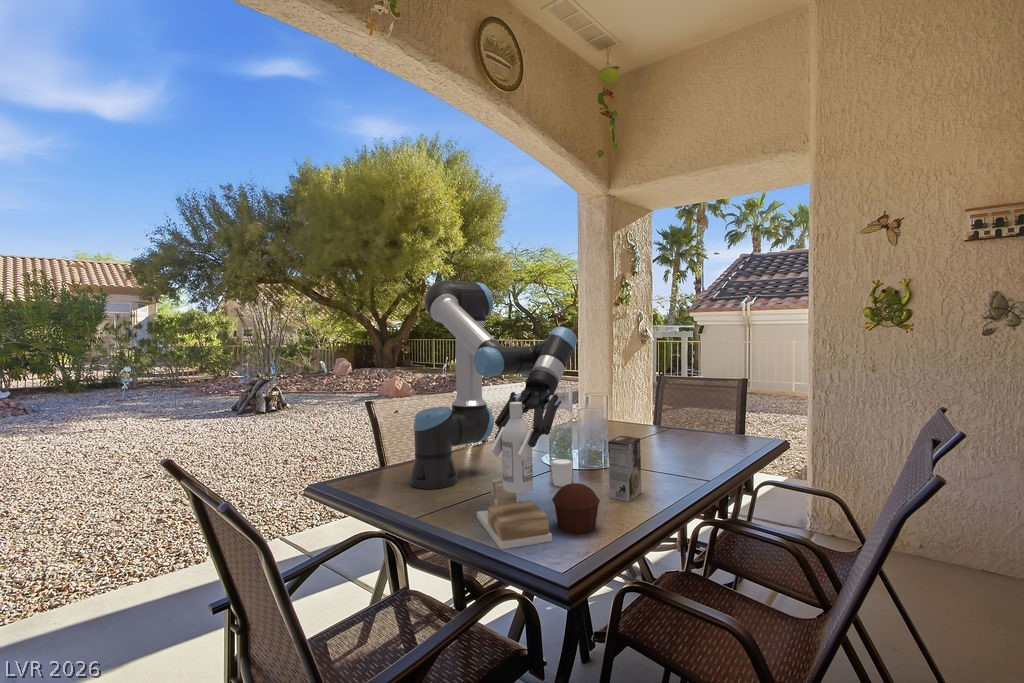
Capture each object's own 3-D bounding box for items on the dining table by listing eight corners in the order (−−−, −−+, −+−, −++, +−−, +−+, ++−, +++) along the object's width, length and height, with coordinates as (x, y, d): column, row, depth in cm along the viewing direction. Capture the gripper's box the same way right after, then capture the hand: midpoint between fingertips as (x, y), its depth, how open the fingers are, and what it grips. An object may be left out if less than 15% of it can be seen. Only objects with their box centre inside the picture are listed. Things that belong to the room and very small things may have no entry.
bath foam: (532, 484, 114) (530, 400, 114) (533, 493, 107) (531, 404, 107) (503, 485, 114) (501, 400, 114) (502, 494, 107) (500, 404, 107)
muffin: (561, 516, 123) (560, 476, 123) (604, 521, 118) (603, 480, 118) (546, 533, 112) (545, 490, 112) (593, 540, 107) (592, 495, 107)
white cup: (572, 480, 153) (572, 458, 153) (573, 487, 146) (573, 464, 146) (551, 480, 154) (550, 458, 154) (550, 487, 147) (550, 464, 147)
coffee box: (621, 489, 143) (620, 435, 143) (642, 493, 139) (641, 437, 139) (608, 498, 136) (607, 440, 136) (630, 502, 132) (629, 443, 132)
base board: (477, 517, 122) (476, 511, 122) (521, 511, 126) (521, 505, 126) (500, 549, 104) (500, 542, 104) (551, 541, 107) (551, 534, 107)
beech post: (491, 511, 122) (491, 480, 122) (510, 509, 124) (509, 478, 124) (497, 518, 117) (496, 485, 117) (516, 515, 119) (516, 483, 119)
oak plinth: (487, 523, 115) (487, 506, 115) (531, 517, 118) (530, 500, 118) (501, 541, 104) (501, 523, 104) (548, 533, 108) (548, 516, 108)
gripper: (585, 388, 117) (552, 470, 104) (518, 385, 129) (481, 459, 116) (574, 368, 113) (538, 451, 100) (506, 367, 125) (466, 441, 112)
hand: (507, 455), depth 108 cm, fingers closed on bath foam, 7 cm apart
